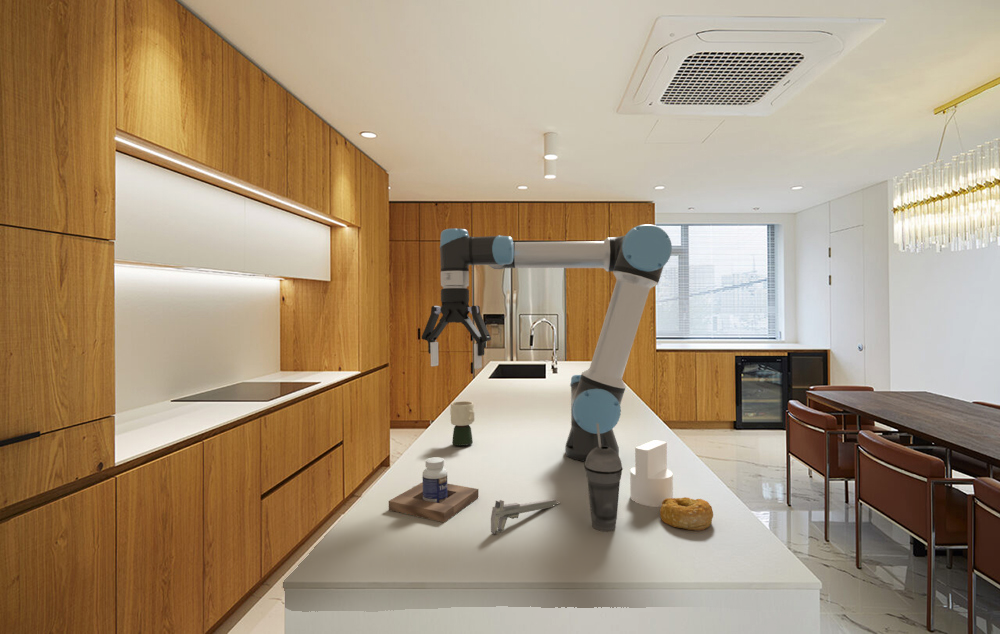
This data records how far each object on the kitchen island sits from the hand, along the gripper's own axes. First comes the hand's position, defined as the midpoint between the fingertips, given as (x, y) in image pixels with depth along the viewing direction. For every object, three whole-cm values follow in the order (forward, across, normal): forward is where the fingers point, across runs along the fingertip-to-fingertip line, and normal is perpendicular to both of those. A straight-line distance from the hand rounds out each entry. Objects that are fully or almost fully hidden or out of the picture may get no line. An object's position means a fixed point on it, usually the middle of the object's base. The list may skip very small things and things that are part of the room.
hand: (455, 367), depth 133 cm
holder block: (+27, +9, -24) cm, 37 cm away
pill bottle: (+27, +9, -24) cm, 37 cm away
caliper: (+27, +30, -22) cm, 46 cm away
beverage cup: (+27, +45, -19) cm, 56 cm away
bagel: (+27, +59, -10) cm, 66 cm away
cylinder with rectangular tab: (+27, +51, -1) cm, 58 cm away
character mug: (+27, -9, +18) cm, 34 cm away
